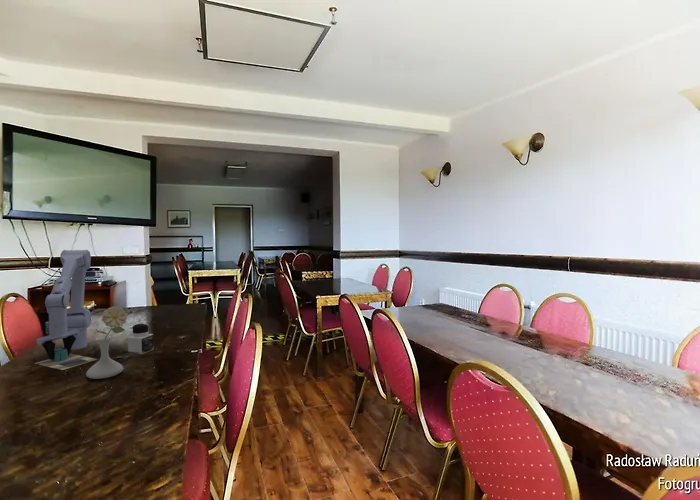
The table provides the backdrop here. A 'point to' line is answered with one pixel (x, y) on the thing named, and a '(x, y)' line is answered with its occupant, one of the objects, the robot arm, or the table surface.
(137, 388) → the table surface
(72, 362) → the board
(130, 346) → the medicine bottle
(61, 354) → the cap
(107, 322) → the flower in vase
